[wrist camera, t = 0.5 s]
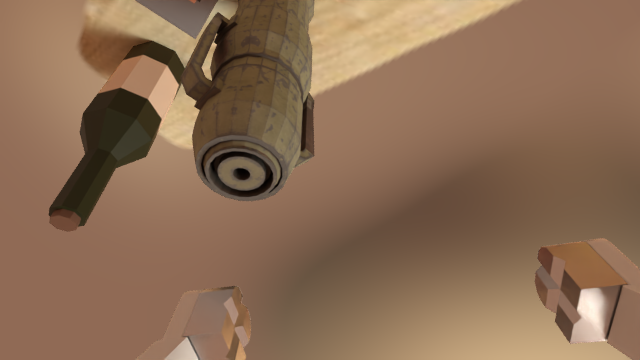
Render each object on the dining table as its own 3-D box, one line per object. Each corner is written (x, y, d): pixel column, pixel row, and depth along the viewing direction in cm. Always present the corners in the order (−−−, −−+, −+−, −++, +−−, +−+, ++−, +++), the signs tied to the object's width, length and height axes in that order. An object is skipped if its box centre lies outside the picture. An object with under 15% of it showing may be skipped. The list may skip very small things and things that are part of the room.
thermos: (296, 41, 54) (276, 241, 30) (223, -16, 49) (126, 171, 24) (337, -9, 50) (354, 180, 25) (262, -78, 44) (190, 76, 20)
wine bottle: (117, 62, 57) (-3, 218, 36) (150, 29, 53) (39, 180, 32) (164, 100, 61) (82, 257, 40) (197, 71, 58) (127, 228, 37)
